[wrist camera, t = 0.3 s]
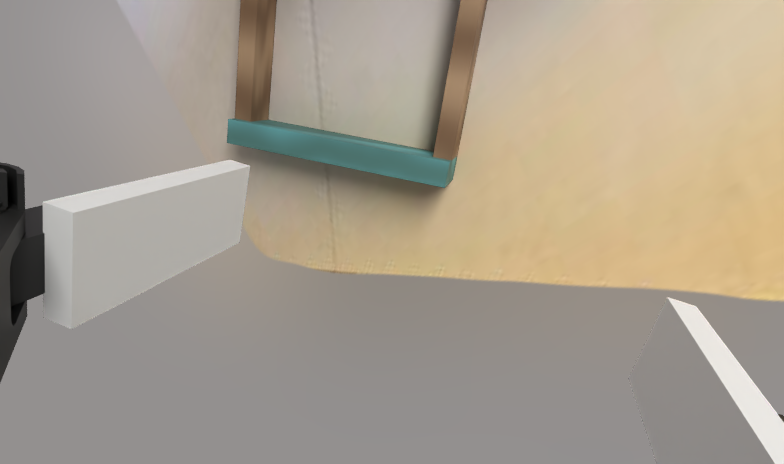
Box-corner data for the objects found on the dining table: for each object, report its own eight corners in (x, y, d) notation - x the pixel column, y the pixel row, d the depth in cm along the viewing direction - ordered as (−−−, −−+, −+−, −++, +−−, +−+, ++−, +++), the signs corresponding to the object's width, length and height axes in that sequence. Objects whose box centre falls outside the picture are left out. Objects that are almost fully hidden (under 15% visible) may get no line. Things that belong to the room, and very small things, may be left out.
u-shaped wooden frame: (267, -111, 39) (239, -133, 35) (505, -92, 35) (501, -114, 31) (252, 138, 45) (227, 142, 41) (452, 179, 41) (444, 187, 37)
